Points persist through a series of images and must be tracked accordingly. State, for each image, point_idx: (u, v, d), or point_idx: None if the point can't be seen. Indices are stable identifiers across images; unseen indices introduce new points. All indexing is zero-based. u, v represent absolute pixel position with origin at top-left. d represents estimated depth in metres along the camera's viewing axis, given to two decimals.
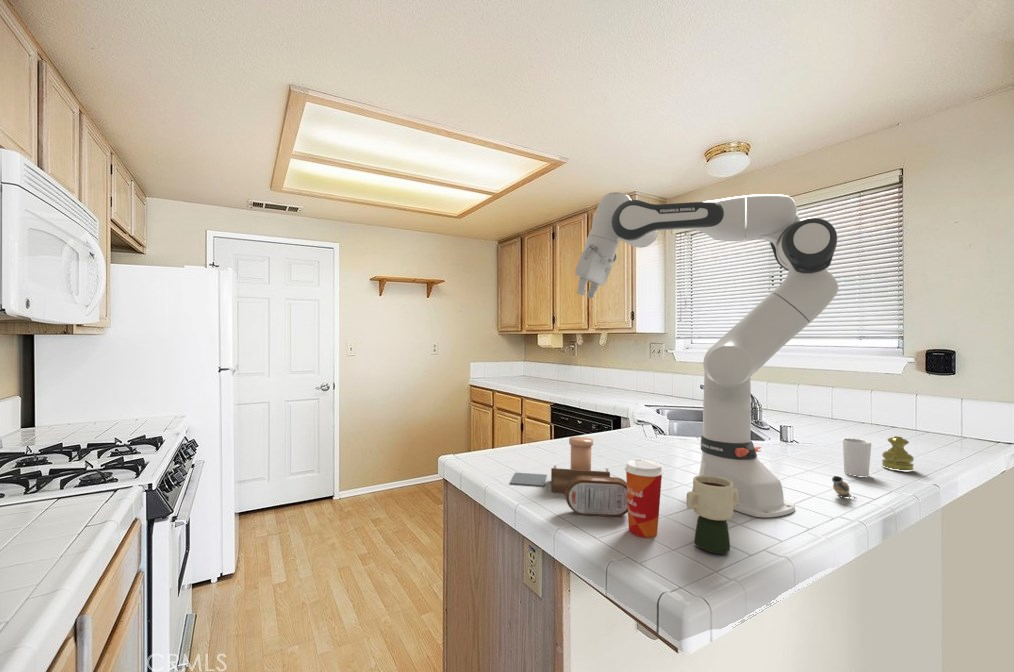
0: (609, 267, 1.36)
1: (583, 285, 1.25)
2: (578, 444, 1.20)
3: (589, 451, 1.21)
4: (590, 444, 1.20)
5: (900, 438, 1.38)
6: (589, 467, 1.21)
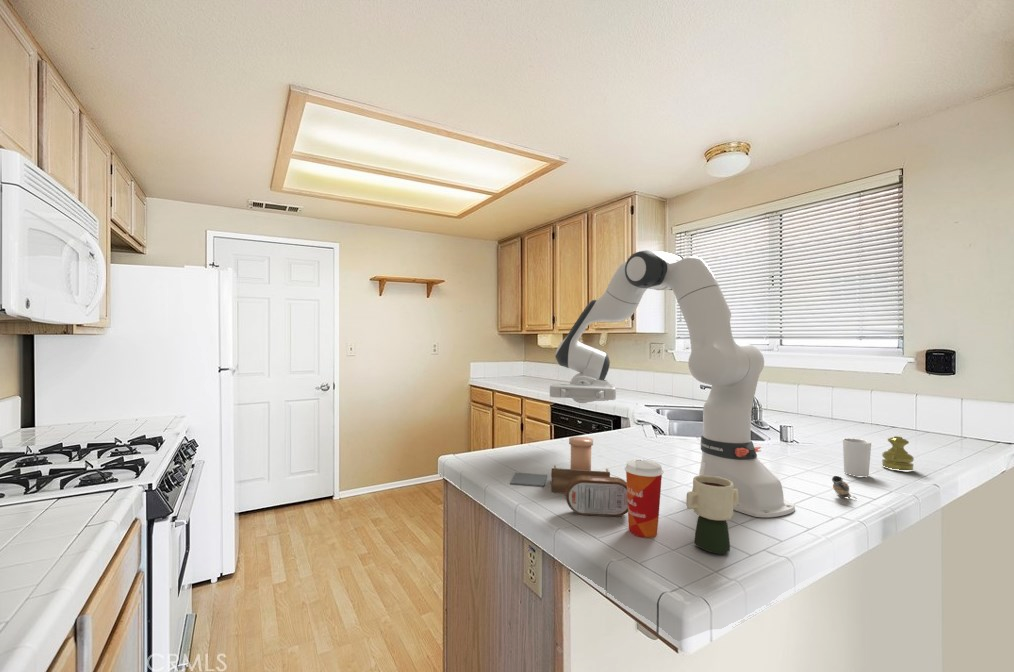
0: (606, 384, 1.43)
1: (561, 391, 1.38)
2: (578, 444, 1.20)
3: (589, 451, 1.21)
4: (590, 444, 1.20)
5: (900, 438, 1.38)
6: (589, 467, 1.21)
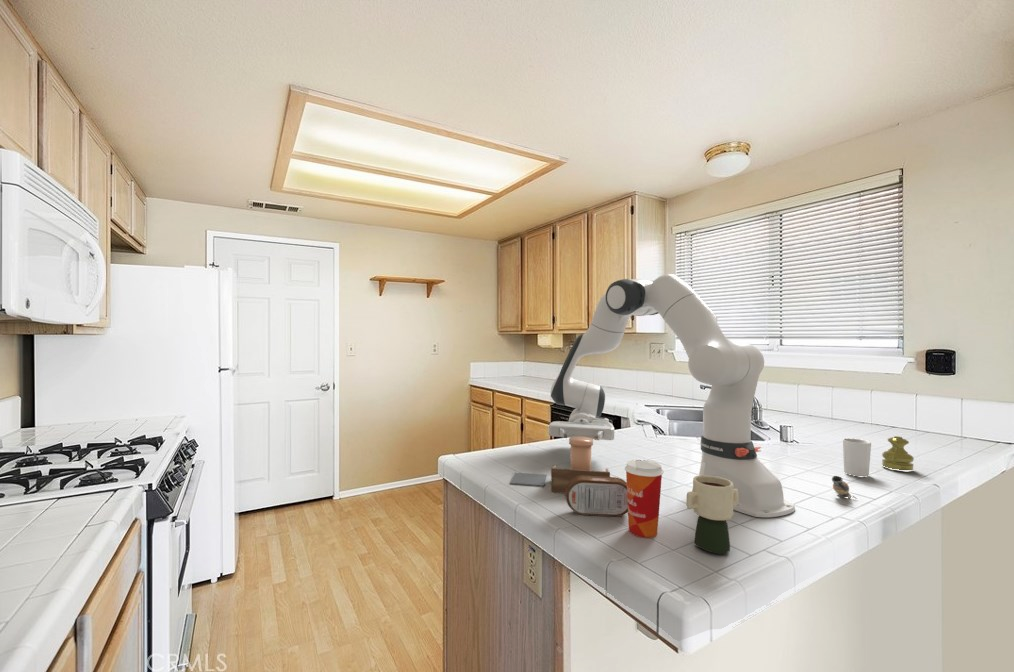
0: (605, 423, 1.44)
1: (560, 431, 1.38)
2: (578, 444, 1.20)
3: (589, 451, 1.21)
4: (590, 444, 1.20)
5: (900, 438, 1.38)
6: (589, 467, 1.21)
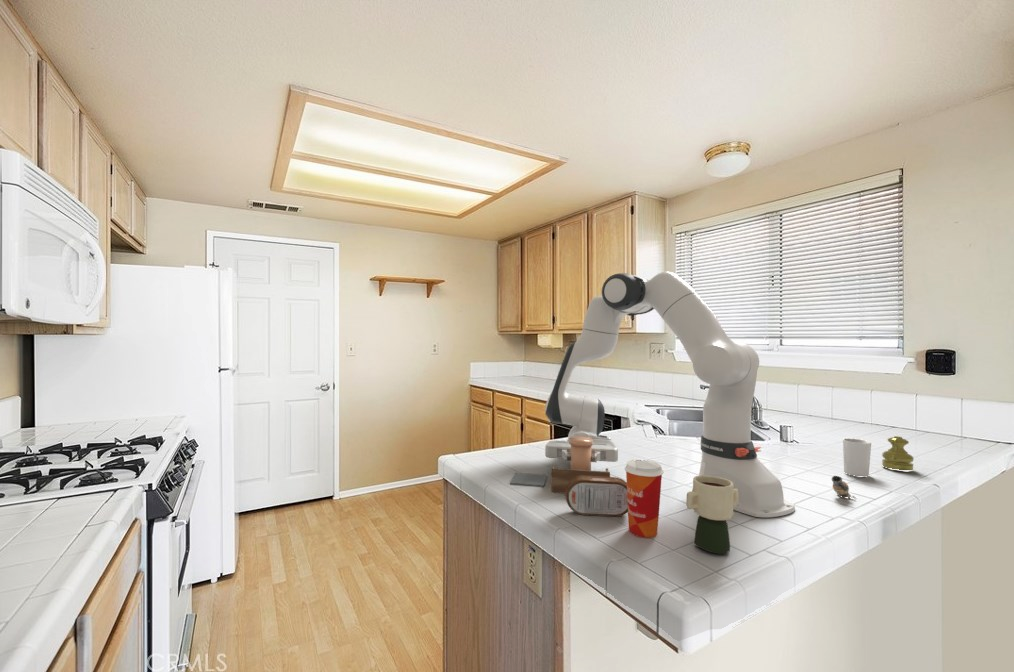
0: (608, 442, 1.31)
1: (563, 453, 1.25)
2: (578, 444, 1.19)
3: (589, 451, 1.21)
4: (590, 444, 1.20)
5: (900, 438, 1.38)
6: (589, 467, 1.21)
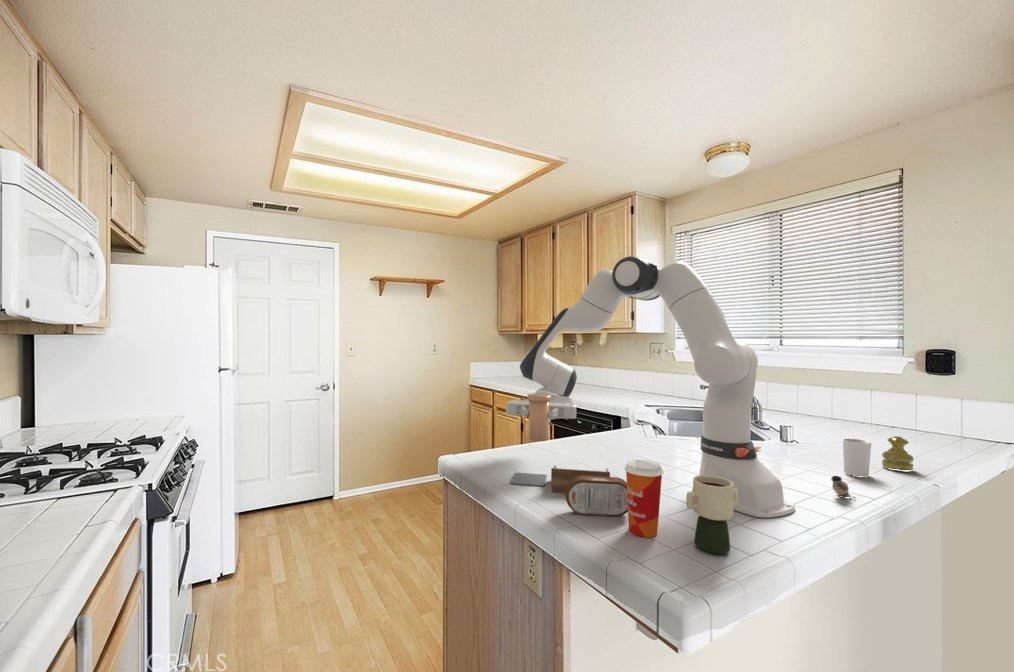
0: (568, 401, 1.33)
1: (522, 409, 1.27)
2: (535, 399, 1.22)
3: (546, 406, 1.23)
4: (547, 399, 1.22)
5: (900, 438, 1.38)
6: (546, 422, 1.23)
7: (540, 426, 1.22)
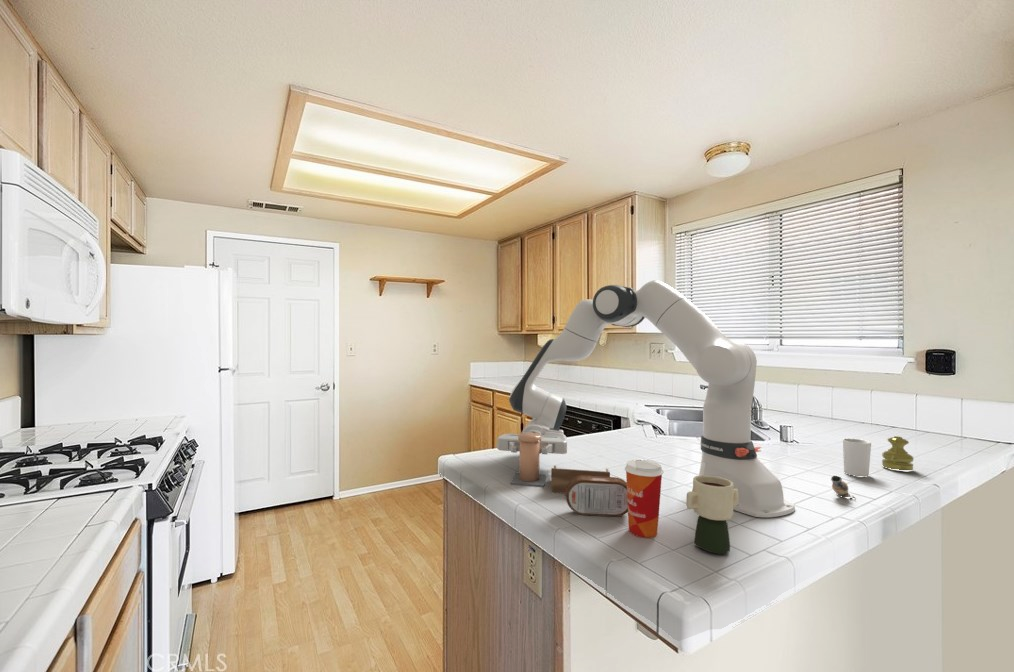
0: (559, 435, 1.33)
1: (510, 445, 1.28)
2: (525, 440, 1.22)
3: (537, 446, 1.23)
4: (537, 440, 1.23)
5: (900, 438, 1.38)
6: (537, 462, 1.23)
7: (530, 467, 1.22)
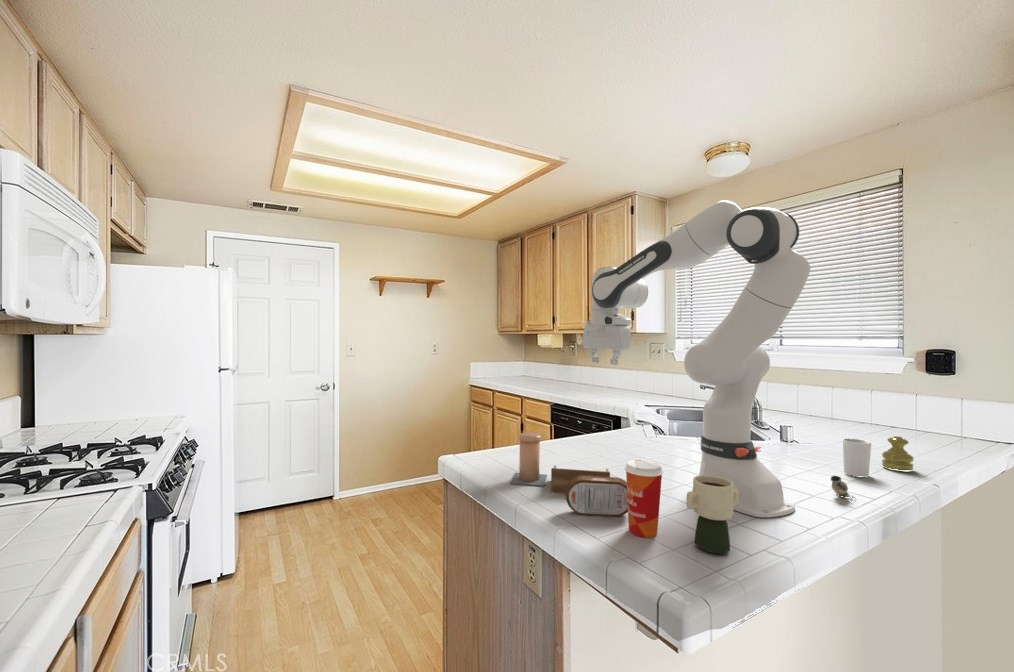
0: (614, 330, 1.35)
1: None
2: (525, 440, 1.22)
3: (537, 446, 1.23)
4: (537, 440, 1.23)
5: (900, 438, 1.38)
6: (537, 462, 1.23)
7: (530, 467, 1.22)
